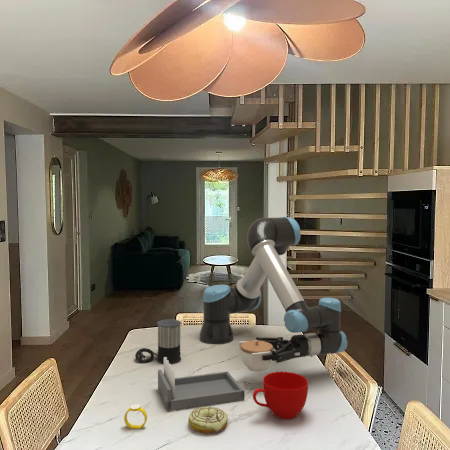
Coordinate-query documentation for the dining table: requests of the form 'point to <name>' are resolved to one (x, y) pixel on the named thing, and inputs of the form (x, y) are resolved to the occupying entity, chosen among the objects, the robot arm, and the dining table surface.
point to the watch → (135, 408)
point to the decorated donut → (208, 419)
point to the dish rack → (197, 389)
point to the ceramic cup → (284, 394)
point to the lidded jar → (255, 347)
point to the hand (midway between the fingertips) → (245, 351)
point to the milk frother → (165, 343)
